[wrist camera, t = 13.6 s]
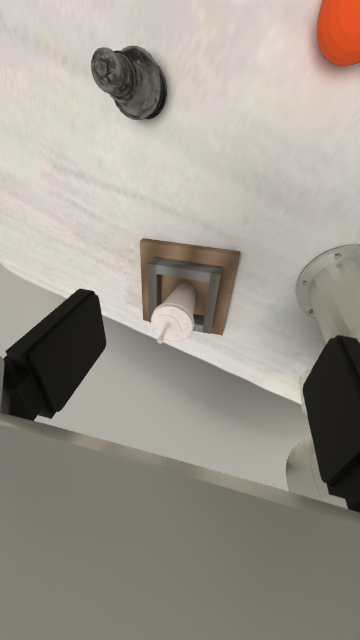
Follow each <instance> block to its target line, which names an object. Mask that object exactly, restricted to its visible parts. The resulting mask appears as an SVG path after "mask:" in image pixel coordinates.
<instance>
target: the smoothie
mask: <svg viewBox="0 0 360 640" xmlns="http://www.w3.org/2000/svg"><path fill="white" fill-rule="evenodd" d="M195 298H196V290H195V288H194V287H193V286H192V285H190V284H188V283H181V284H179V285H178V286H177V287H176V288H175V290H174V291H173V292H172V293H171V294H170V295H169V297H168V298H167V299H166V300H165V301H164V302H163V303H162V304H161V305H159V306H158V307H156V309H155V310H154V312H153V314H152V317H151V323H152V327H153V328H154V330H155V331H156V333H157V334H159V335H160V337H159V339H158V343H162V341H163V338H165V339H167V340H171V341H181V340H184V339H186V338H188V337H189V336H190V334H191V333H192V330H193V328H194V319H193V314H194V306H195Z"/></svg>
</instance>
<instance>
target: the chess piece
mask: <svg viewBox="0 0 360 640" xmlns="http://www.w3.org/2000/svg"><path fill="white" fill-rule="evenodd" d="M91 69H92V75H93V78H94V80H95V82H96V84H97V85H98V86H99V87H100V88H101V89H102V90H103V91H104V92H107V93H109V94H110V96H111V97H112V98H113V99H114V101H115V103H116V105H117V107H118V108H119V110H120V111H121V112H122V113H123V114H124V115H125V116H127V117H128V118H131V119H133V120H141V119H151V118H154V117H155V116H157V115H158V114H159V113H160V112H161V110H162V109H163V107H164V104H165V101H166V96H167V86H166V80H165V77H164V75H163V72H162V71H161V69H160V68H159V66H158V65H157V64H156V62H155V61H154V59H153V58H152V56H151V55H150V54H149V53H148V52H147V51H146V50H145V49H143V48H141V47H138V46H128V47H126V48H124V49H122V50H121V51H112V50H111V49H109V48H99V49H97V50H96V51H95V53H94V55H93V57H92V61H91Z"/></svg>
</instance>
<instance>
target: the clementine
mask: <svg viewBox="0 0 360 640" xmlns="http://www.w3.org/2000/svg"><path fill="white" fill-rule="evenodd" d="M317 38H318V42H319V47H320V50H321V51H322V53H323V55H324V56H325V58H326V59H328V60H329V61H330V62H332V63H334V64H337V65H341V66H342V65H352V64H355V63H358V62H360V0H323V1H322V3H321V8H320V13H319V18H318V23H317Z"/></svg>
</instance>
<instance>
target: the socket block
mask: <svg viewBox="0 0 360 640" xmlns="http://www.w3.org/2000/svg"><path fill="white" fill-rule="evenodd" d="M140 255H141V278H142V301H143V320H145V321H149V322H151V317H152V314H153V312H154V310H155V309H156V307H158V306H159V305H161V304H162V303H163V302H164V301H165V300H166V299H167V298H168V297H169V295H170V294H171V293H172V292H173V291H174V290H175V288H176V287H177V286H178V285H179V284H181V283H188V284H190V285H192V286H193V287H194V288H195V290H196V298H195V306H194V314H193V319H194V328H193V331H198V332H203V333H209V334H210V333H213V334H218V335H223V331H224V326H225V321H226V317H227V312H228V308H229V303H230V298H231V294H232V289H233V284H234V280H235V275H236V270H237V266H238V261H239V256H240V252H238V251H230V250H223V249H216V248H209V247H202V246H194V245H187V244H180V243H173V242H166V241H158V240H151V239H144V238H143V239H142V240H141V241H140Z"/></svg>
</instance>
